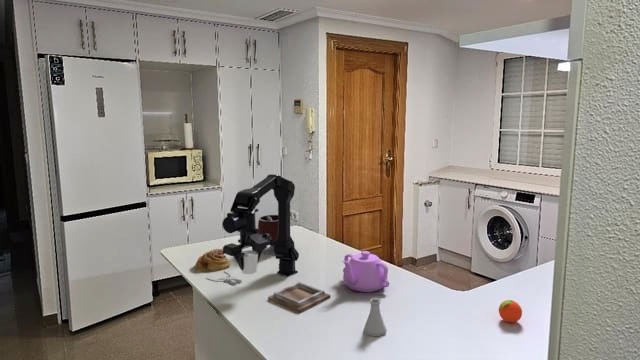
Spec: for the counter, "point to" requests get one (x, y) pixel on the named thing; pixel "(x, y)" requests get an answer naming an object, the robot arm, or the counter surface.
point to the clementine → (510, 311)
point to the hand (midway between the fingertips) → (249, 267)
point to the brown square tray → (299, 297)
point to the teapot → (365, 272)
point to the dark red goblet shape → (269, 231)
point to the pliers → (227, 279)
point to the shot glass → (250, 262)
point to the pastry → (212, 261)
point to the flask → (375, 320)
